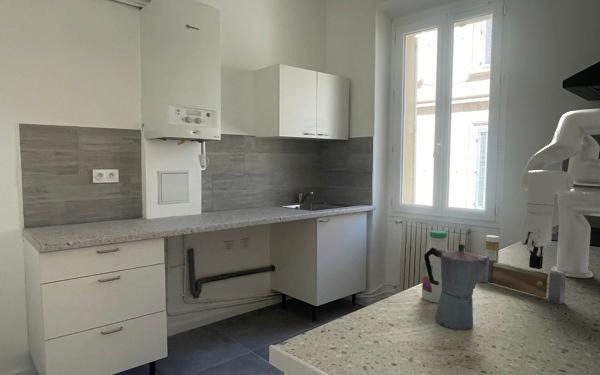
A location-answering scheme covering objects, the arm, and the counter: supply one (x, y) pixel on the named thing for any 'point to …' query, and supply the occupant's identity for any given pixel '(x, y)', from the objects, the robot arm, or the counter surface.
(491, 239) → the sprinkles bottle
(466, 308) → the moka pot
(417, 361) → the counter surface
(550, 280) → the grey rectangular blocks
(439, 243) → the milk bottle
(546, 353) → the counter surface
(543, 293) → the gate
